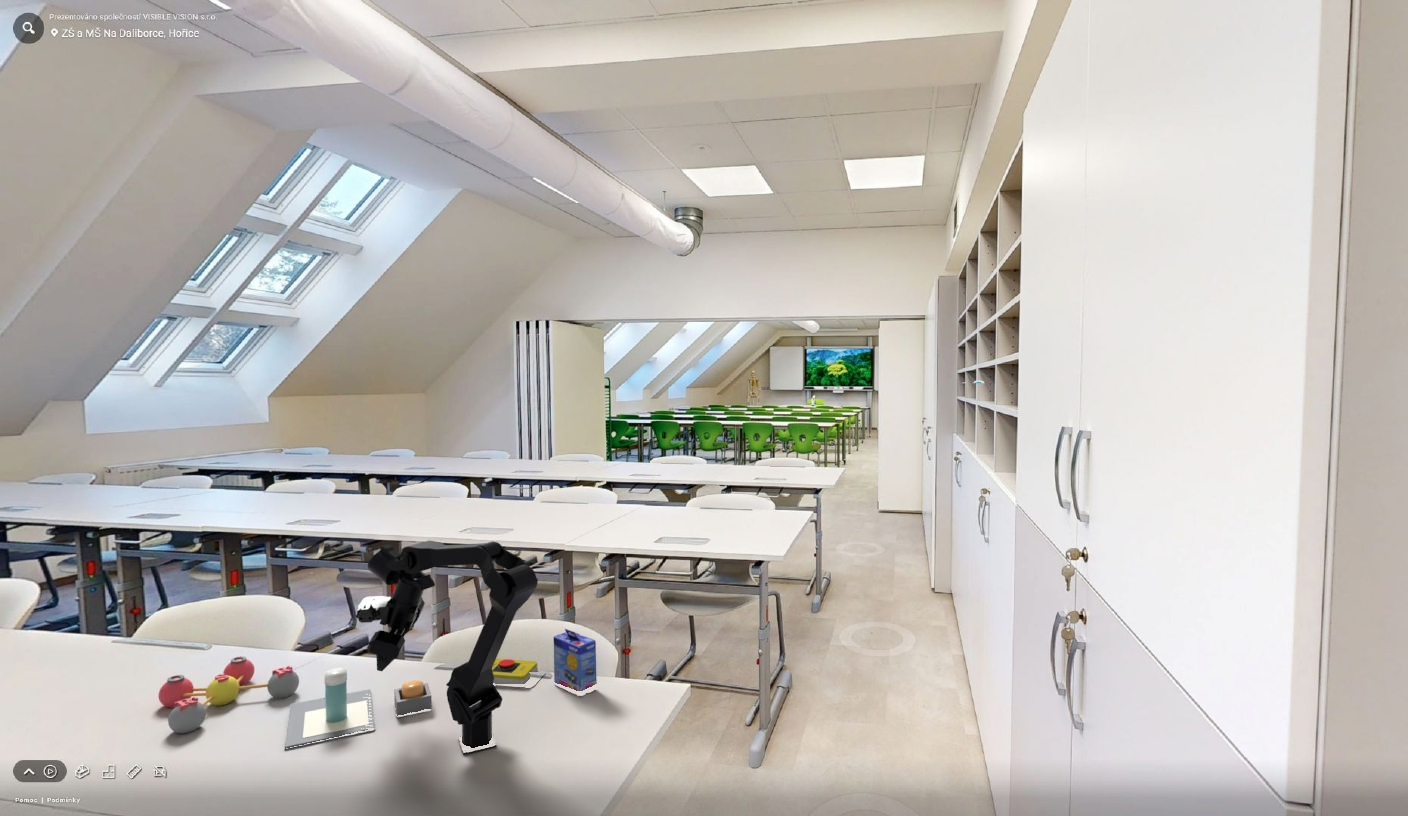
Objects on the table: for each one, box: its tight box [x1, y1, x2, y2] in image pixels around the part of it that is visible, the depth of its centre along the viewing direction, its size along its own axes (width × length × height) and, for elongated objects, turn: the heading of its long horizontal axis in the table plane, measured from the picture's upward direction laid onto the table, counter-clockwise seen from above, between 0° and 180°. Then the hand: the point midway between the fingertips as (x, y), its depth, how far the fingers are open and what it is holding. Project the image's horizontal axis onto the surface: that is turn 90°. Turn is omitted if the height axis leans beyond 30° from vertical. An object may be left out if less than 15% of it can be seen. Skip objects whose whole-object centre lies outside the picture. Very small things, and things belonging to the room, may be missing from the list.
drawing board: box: [284, 688, 375, 750], centre depth 147 cm, size 20×16×1 cm
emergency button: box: [492, 658, 545, 684], centre depth 168 cm, size 9×4×15 cm
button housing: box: [393, 682, 433, 717], centre depth 152 cm, size 7×7×4 cm
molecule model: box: [157, 655, 300, 735], centre depth 154 cm, size 25×21×6 cm
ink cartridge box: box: [553, 628, 598, 691], centre depth 162 cm, size 10×6×14 cm, turn 51°
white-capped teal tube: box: [324, 667, 348, 723], centre depth 146 cm, size 4×4×10 cm
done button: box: [401, 680, 424, 700], centre depth 152 cm, size 4×4×3 cm
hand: (387, 656), depth 148 cm, fingers open, 9 cm apart
